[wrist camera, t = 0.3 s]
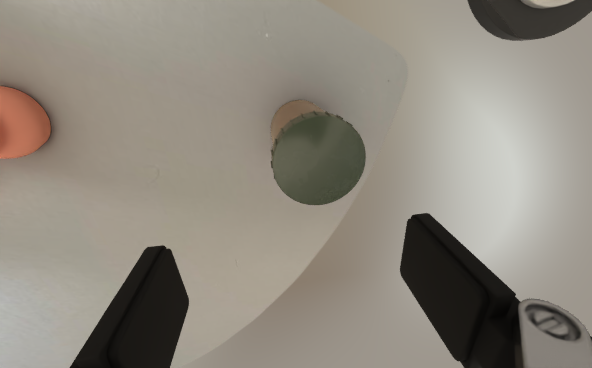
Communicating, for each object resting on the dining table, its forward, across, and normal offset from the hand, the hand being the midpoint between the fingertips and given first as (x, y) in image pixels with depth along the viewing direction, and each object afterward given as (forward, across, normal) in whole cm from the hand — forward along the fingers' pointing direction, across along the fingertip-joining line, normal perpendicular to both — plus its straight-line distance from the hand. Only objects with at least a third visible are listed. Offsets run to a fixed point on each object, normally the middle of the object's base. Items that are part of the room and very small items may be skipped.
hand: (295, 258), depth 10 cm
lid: (+10, -3, 0) cm, 10 cm away
